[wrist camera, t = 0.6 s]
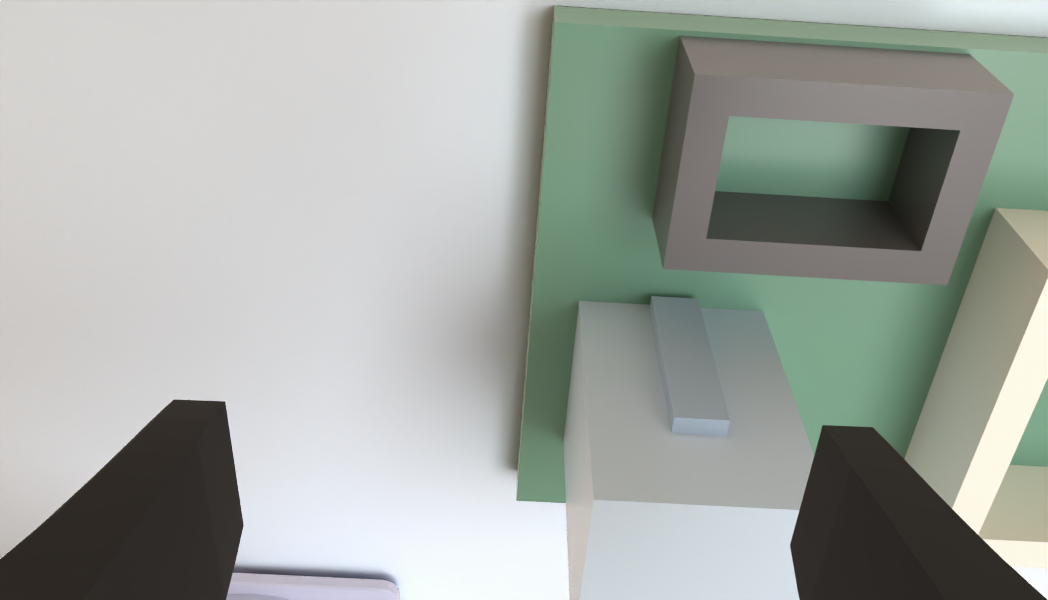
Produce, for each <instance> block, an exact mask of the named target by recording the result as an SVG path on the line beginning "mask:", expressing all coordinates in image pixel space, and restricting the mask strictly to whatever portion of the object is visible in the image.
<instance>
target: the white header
mask: <svg viewBox="0 0 1048 600" xmlns="http://www.w3.org/2000/svg"><path fill="white" fill-rule="evenodd" d="M1047 378H1048V211H1042V210H1025V209H1008V208H995V211H994V214H993V217H992V219H991V222H990V225H989V228H988V230H987V233H986V236H985V239H984V241H983V244H982V247H981V250H980V252H979V255H978V258H977V261H976V263H975V266H974V269H973V271H972V274H971V277H970V280H969V282H968V285H967V288H966V291H965V293H964V296H963V299H962V302H961V304H960V307H959V310H958V313H957V315H956V318H955V321H954V324H953V326H952V329H951V332H950V335H949V337H948V340H947V343H946V346H945V348H944V351H943V354H942V357H941V359H940V362H939V365H938V368H937V370H936V373H935V376H934V379H933V381H932V384H931V387H930V390H929V392H928V395H927V398H926V401H925V403H924V406H923V409H922V412H921V414H920V417H919V420H918V423H917V425H916V428H915V431H914V434H913V436H912V439H911V442H910V445H909V447H908V450H907V453H906V456H905V458H904V459H905V460H906V462H907V463H908V464H909V465H910V466H911V467H912V468H913V469H914V470H915V471H916V472H917V473H918V474H919V475H920V476H921V477H922V478H923V479H924V480H925V481H926V482H927V483H928V484H929V485H930V487H931V488H932V489H933V490H934V491H935V492H936V493H937V494H938V495H939V496H940V497H941V498H942V499H943V500H944V501H945V502H946V503H947V504H948V505H949V506H950V507H951V508H952V509H953V510H954V511H955V512H956V513H957V514H958V515H959V516H960V517H961V518H962V519H963V520H964V521H965V522H966V523H967V524H968V525H969V526H970V527H971V528H972V529H973V530H974V531H975V532H976V533H977V534H978V535H979V536H980V537H981V538H982V539H983V540H984V541H985V542H986V543H987V544H988V545H989V546H990V547H991V548H992V549H993V550H994V551H995V552H996V553H997V554H998V555H999V556H1000V557H1001V558H1002V559H1003V560H1004V561H1005V562H1007V563H1008V564H1009V565H1010V566H1013V567H1033V568H1048V467H1042V466H1023V465H1009V464H1010V462H1011V460H1012V457H1013V455H1014V453H1015V451H1016V448H1017V446H1018V444H1019V442H1020V439H1021V437H1022V435H1023V433H1024V430H1025V428H1026V426H1027V424H1028V421H1029V419H1030V417H1031V415H1032V412H1033V410H1034V408H1035V406H1036V403H1037V401H1038V399H1039V397H1040V394H1041V392H1042V390H1043V388H1044V385H1045V383H1046V381H1047Z"/></svg>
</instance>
